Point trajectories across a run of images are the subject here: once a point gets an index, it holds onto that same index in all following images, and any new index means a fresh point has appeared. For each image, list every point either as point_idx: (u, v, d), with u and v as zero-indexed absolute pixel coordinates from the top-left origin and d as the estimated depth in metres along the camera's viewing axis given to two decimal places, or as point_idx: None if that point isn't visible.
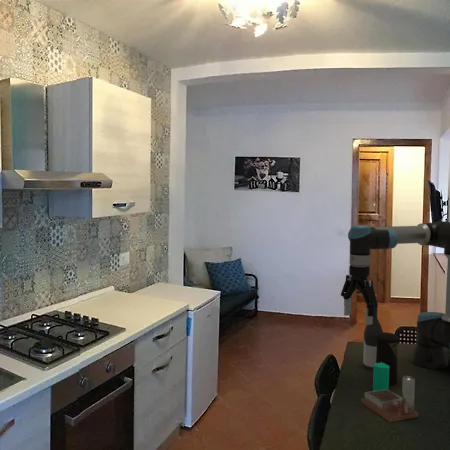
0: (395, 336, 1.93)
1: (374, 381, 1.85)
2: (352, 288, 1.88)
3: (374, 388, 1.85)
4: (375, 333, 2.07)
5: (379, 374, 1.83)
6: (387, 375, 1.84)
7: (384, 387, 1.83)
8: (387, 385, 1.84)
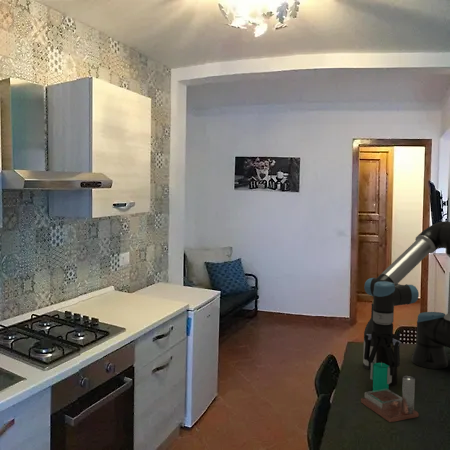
0: (395, 336, 1.93)
1: (374, 381, 1.85)
2: (376, 347, 1.86)
3: (374, 388, 1.85)
4: None
5: (379, 374, 1.83)
6: None
7: (384, 387, 1.83)
8: (387, 385, 1.84)
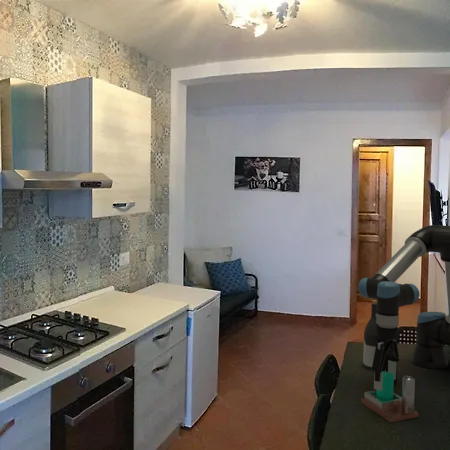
0: None
1: None
2: None
3: None
4: (375, 333, 2.07)
5: None
6: None
7: (377, 395, 1.73)
8: (380, 395, 1.72)
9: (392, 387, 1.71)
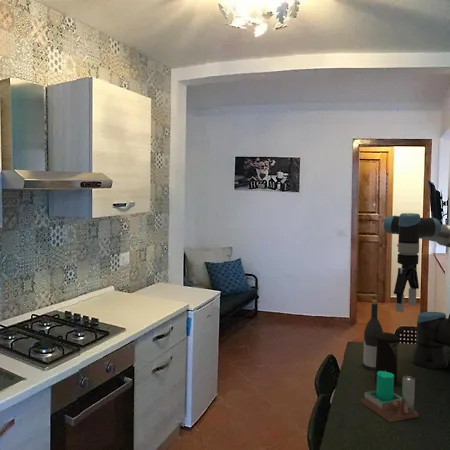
0: (395, 336, 1.93)
1: None
2: None
3: None
4: (375, 333, 2.07)
5: None
6: (380, 384, 1.72)
7: (377, 395, 1.73)
8: (380, 395, 1.72)
9: (392, 387, 1.71)
